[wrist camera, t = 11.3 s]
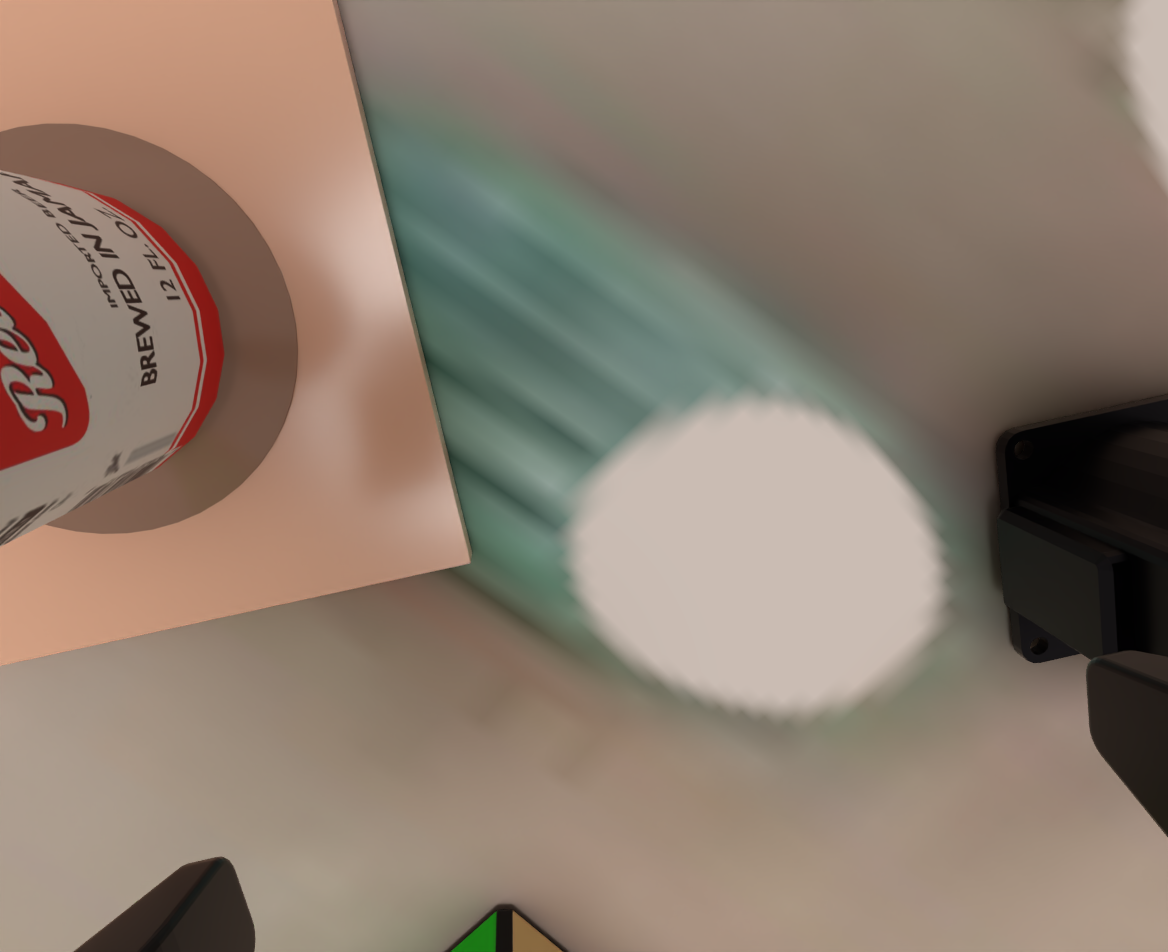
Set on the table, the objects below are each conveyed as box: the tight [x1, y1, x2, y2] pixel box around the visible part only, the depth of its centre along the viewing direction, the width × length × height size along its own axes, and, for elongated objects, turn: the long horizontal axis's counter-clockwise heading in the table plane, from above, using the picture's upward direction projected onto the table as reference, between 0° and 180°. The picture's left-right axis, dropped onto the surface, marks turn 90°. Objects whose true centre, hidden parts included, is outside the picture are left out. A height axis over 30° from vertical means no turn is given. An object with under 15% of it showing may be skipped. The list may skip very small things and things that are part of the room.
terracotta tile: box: [0, 0, 472, 666], centre depth 19 cm, size 14×14×1 cm
